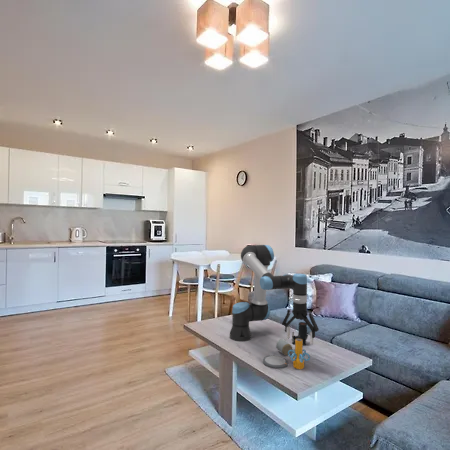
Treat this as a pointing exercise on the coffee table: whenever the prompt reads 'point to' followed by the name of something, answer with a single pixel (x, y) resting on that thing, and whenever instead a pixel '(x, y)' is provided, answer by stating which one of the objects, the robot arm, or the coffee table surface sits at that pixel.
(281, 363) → the plate
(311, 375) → the coffee table surface
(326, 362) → the coffee table surface
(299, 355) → the cylinder
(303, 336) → the scope
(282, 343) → the ceramic mug
